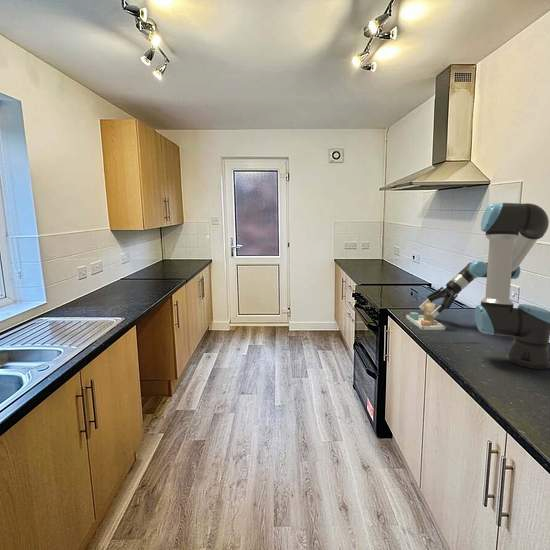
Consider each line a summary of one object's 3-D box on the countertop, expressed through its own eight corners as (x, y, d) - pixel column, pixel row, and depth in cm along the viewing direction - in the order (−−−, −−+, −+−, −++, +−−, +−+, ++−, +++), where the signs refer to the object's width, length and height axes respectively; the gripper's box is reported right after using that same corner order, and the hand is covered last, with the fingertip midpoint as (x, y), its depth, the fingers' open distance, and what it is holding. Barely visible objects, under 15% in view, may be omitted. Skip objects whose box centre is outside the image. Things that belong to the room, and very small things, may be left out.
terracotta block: (430, 328, 188) (430, 322, 187) (423, 328, 188) (424, 322, 187) (427, 326, 191) (427, 320, 191) (420, 326, 191) (421, 320, 191)
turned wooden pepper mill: (435, 324, 195) (437, 304, 193) (425, 324, 194) (427, 304, 193) (430, 322, 200) (432, 302, 198) (421, 322, 199) (423, 302, 197)
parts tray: (445, 331, 187) (445, 326, 187) (421, 331, 187) (422, 326, 186) (426, 319, 208) (426, 315, 207) (405, 319, 207) (405, 315, 207)
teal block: (418, 320, 203) (418, 314, 202) (412, 320, 202) (412, 314, 202) (415, 318, 206) (416, 312, 205) (409, 318, 206) (410, 312, 205)
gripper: (474, 295, 182) (442, 324, 184) (448, 284, 207) (420, 310, 209) (465, 284, 181) (433, 313, 183) (440, 275, 206) (412, 301, 207)
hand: (426, 312), depth 196 cm, fingers open, 13 cm apart
